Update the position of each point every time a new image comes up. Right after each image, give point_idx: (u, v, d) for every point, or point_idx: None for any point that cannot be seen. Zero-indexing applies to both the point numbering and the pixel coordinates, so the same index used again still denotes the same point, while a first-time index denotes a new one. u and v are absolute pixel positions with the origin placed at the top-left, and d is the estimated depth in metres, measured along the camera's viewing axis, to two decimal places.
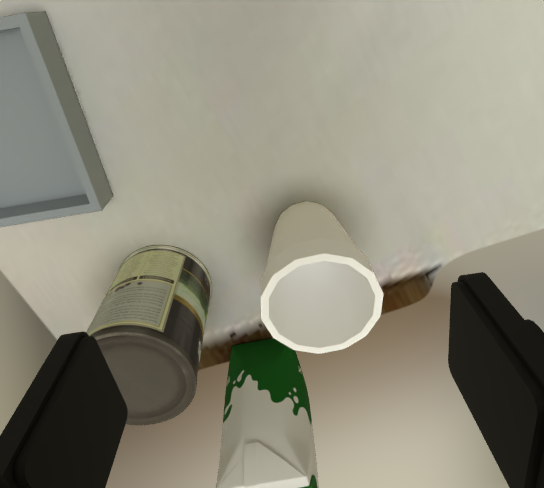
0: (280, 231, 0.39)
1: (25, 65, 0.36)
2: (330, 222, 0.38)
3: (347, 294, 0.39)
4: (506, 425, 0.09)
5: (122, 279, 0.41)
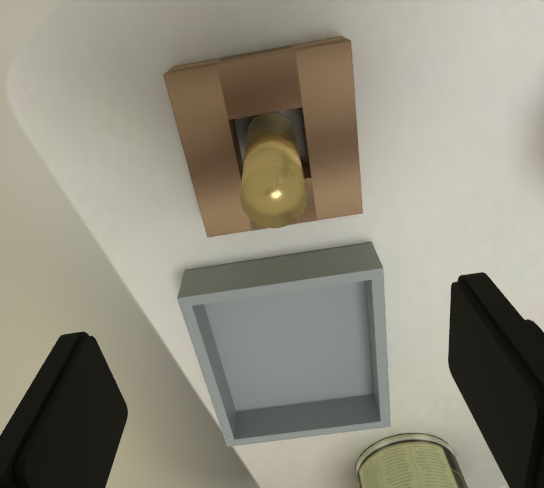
0: None
1: (336, 291, 0.33)
2: None
3: None
4: (505, 424, 0.09)
5: None
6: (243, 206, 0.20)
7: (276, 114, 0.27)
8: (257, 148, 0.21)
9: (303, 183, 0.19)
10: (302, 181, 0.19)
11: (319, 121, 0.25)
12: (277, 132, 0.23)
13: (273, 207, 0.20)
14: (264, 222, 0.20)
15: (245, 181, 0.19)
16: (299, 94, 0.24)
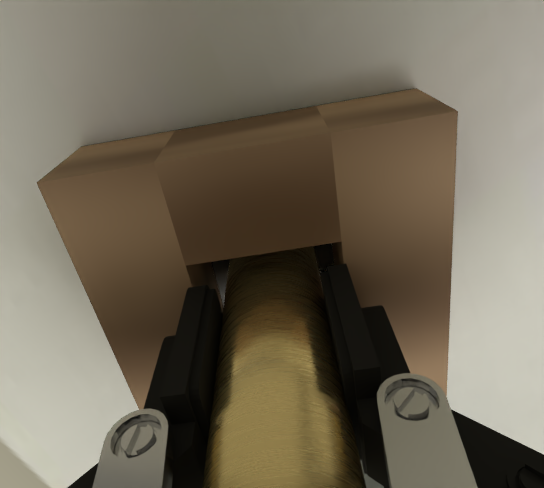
0: None
1: None
2: None
3: None
4: None
5: None
6: None
7: None
8: (243, 390, 0.09)
9: None
10: None
11: (374, 266, 0.12)
12: (290, 311, 0.10)
13: None
14: None
15: None
16: (336, 218, 0.11)
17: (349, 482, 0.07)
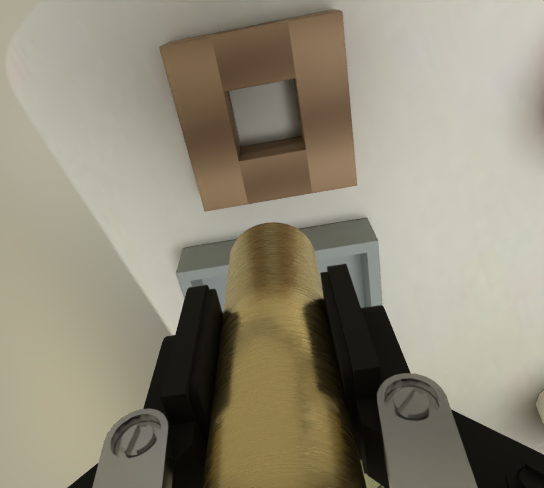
0: None
1: None
2: None
3: None
4: None
5: None
6: None
7: (284, 231, 0.14)
8: (243, 389, 0.09)
9: None
10: None
11: (312, 92, 0.25)
12: (290, 310, 0.10)
13: None
14: None
15: None
16: (292, 65, 0.24)
17: (349, 481, 0.07)
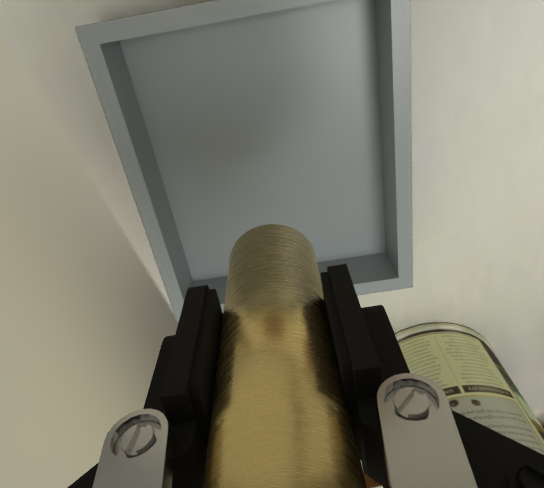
0: None
1: (334, 59, 0.22)
2: None
3: None
4: None
5: None
6: None
7: (284, 233, 0.14)
8: (243, 392, 0.09)
9: None
10: None
11: None
12: (290, 312, 0.10)
13: None
14: None
15: None
16: None
17: (349, 485, 0.07)
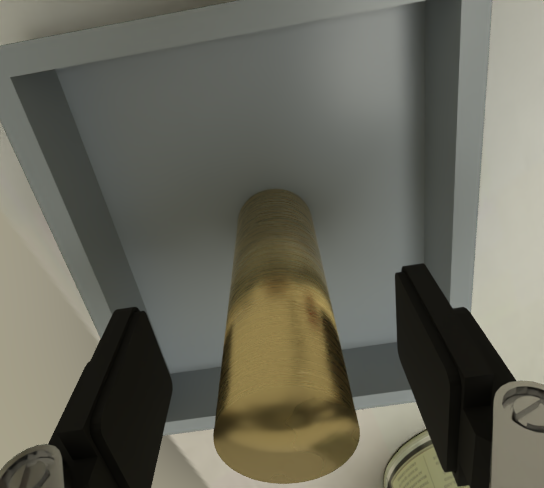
0: None
1: (363, 93, 0.15)
2: None
3: None
4: (433, 402, 0.09)
5: None
6: (221, 452, 0.09)
7: (285, 195, 0.17)
8: (252, 300, 0.11)
9: (351, 415, 0.09)
10: (349, 411, 0.09)
11: None
12: (289, 249, 0.13)
13: (285, 453, 0.09)
14: (266, 475, 0.10)
15: (224, 413, 0.09)
16: None
17: (331, 355, 0.10)
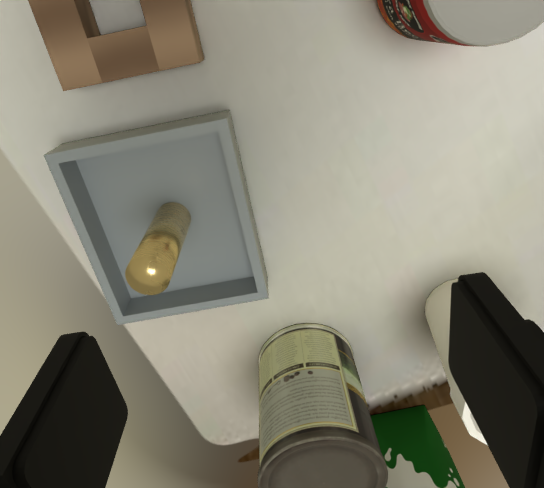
0: None
1: (203, 160, 0.36)
2: None
3: None
4: (505, 424, 0.09)
5: (285, 365, 0.40)
6: (128, 282, 0.30)
7: (174, 204, 0.37)
8: (144, 239, 0.32)
9: (165, 267, 0.29)
10: (164, 265, 0.29)
11: None
12: (164, 224, 0.34)
13: (148, 282, 0.30)
14: (144, 291, 0.30)
15: (127, 266, 0.29)
16: None
17: (164, 252, 0.30)
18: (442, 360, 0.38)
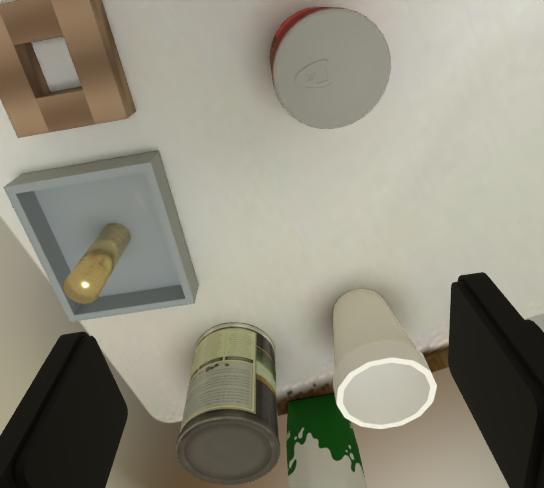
0: (344, 321, 0.47)
1: (138, 190, 0.44)
2: (387, 315, 0.46)
3: (400, 374, 0.47)
4: (506, 424, 0.09)
5: (209, 358, 0.49)
6: (66, 293, 0.38)
7: (115, 225, 0.45)
8: (82, 258, 0.40)
9: (95, 282, 0.37)
10: (94, 281, 0.37)
11: (77, 46, 0.35)
12: (102, 244, 0.42)
13: (82, 293, 0.38)
14: (79, 300, 0.38)
15: (64, 281, 0.37)
16: (59, 26, 0.35)
17: (95, 270, 0.38)
18: (334, 357, 0.47)
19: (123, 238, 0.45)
